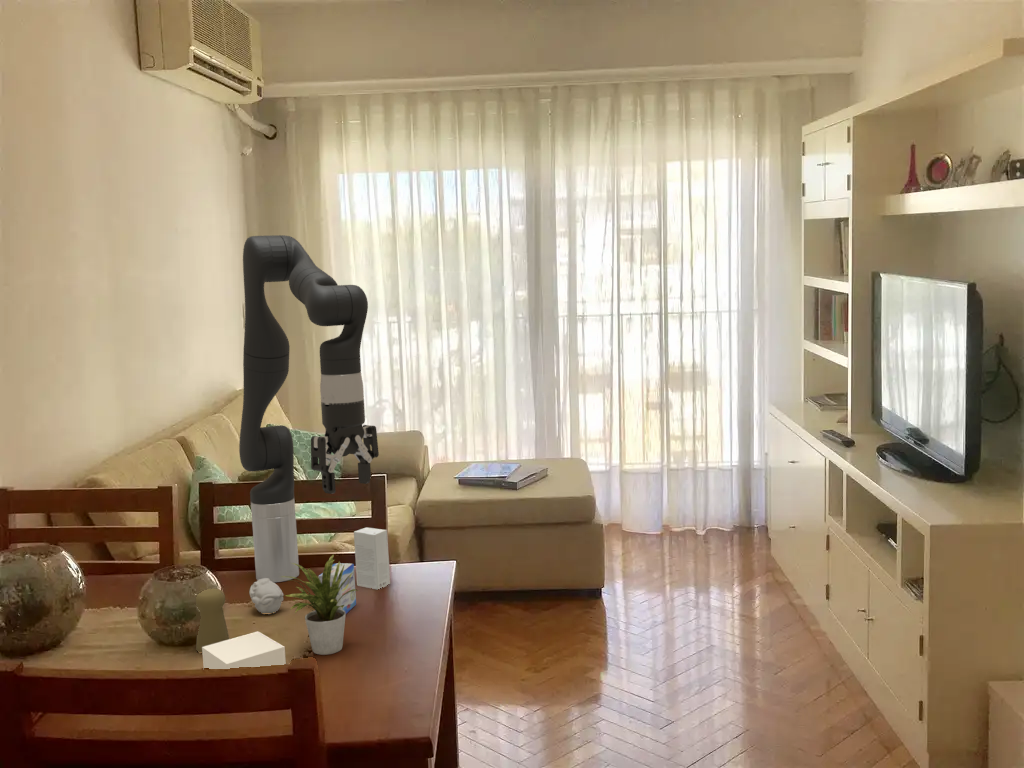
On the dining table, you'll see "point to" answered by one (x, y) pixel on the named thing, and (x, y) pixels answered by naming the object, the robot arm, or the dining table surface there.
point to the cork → (211, 618)
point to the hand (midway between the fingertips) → (347, 488)
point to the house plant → (323, 609)
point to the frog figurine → (266, 596)
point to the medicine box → (344, 586)
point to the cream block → (244, 652)
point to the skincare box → (372, 558)
